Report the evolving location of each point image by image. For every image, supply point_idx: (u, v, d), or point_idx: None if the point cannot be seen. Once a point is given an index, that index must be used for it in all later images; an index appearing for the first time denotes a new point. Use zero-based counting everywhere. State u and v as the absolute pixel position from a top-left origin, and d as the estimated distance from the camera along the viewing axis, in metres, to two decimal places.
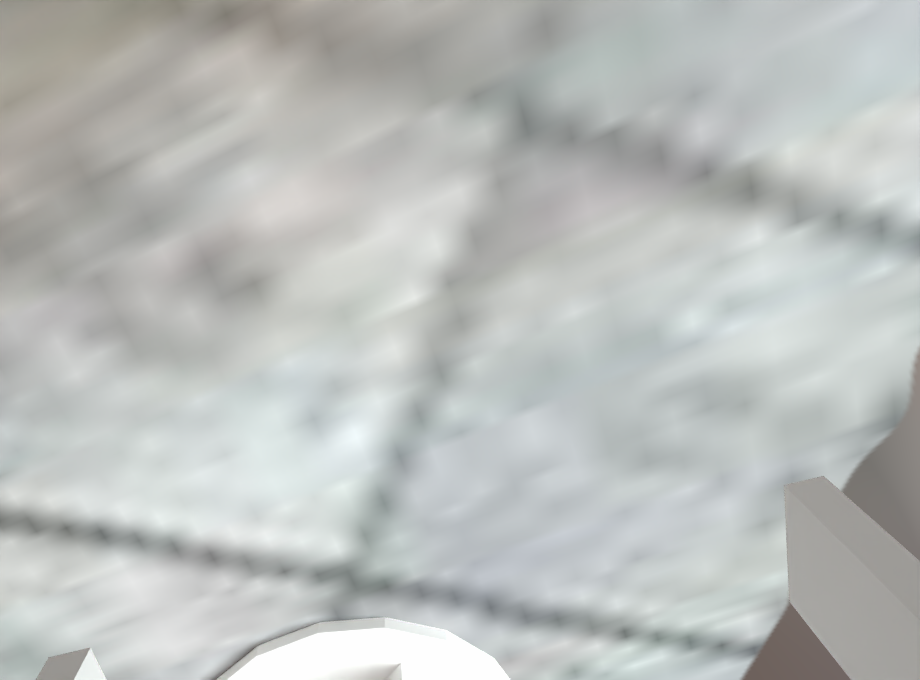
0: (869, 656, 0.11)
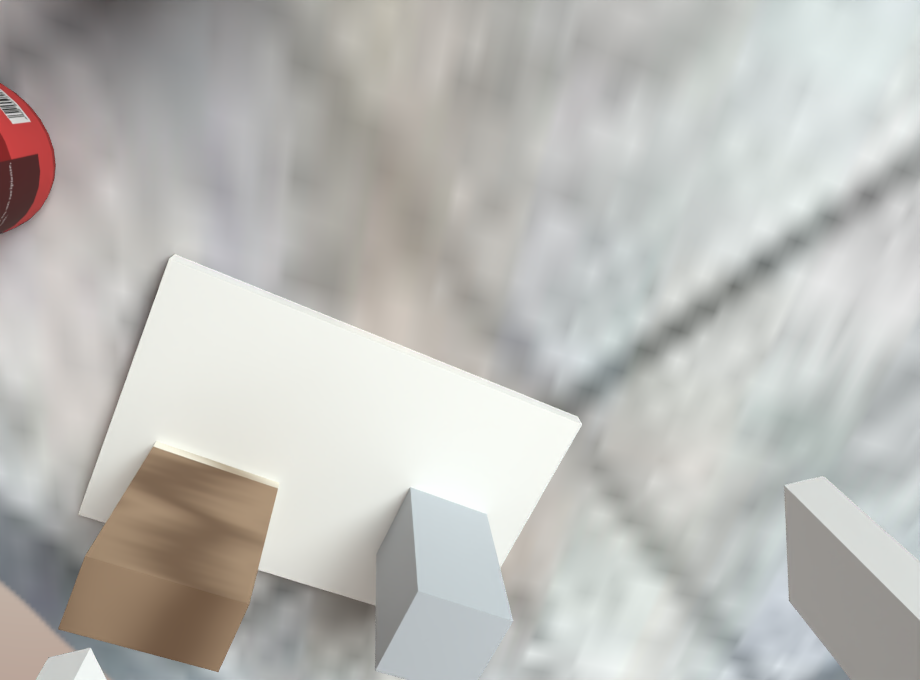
0: (869, 656, 0.11)
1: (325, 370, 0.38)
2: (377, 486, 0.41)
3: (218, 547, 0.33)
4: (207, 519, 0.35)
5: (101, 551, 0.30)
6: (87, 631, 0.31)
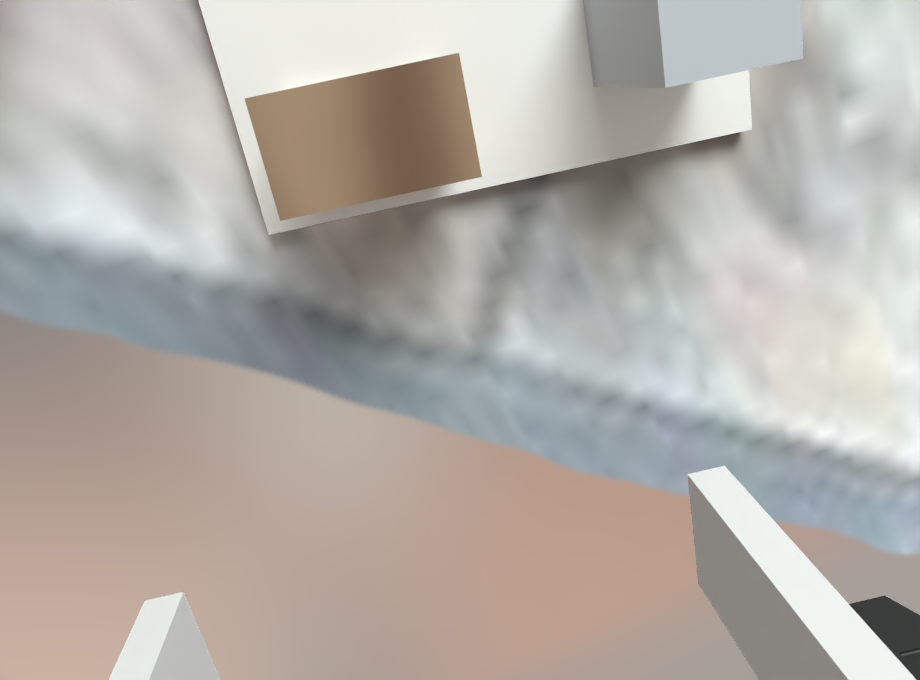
0: (753, 631, 0.12)
1: None
2: None
3: None
4: None
5: None
6: (312, 205, 0.24)
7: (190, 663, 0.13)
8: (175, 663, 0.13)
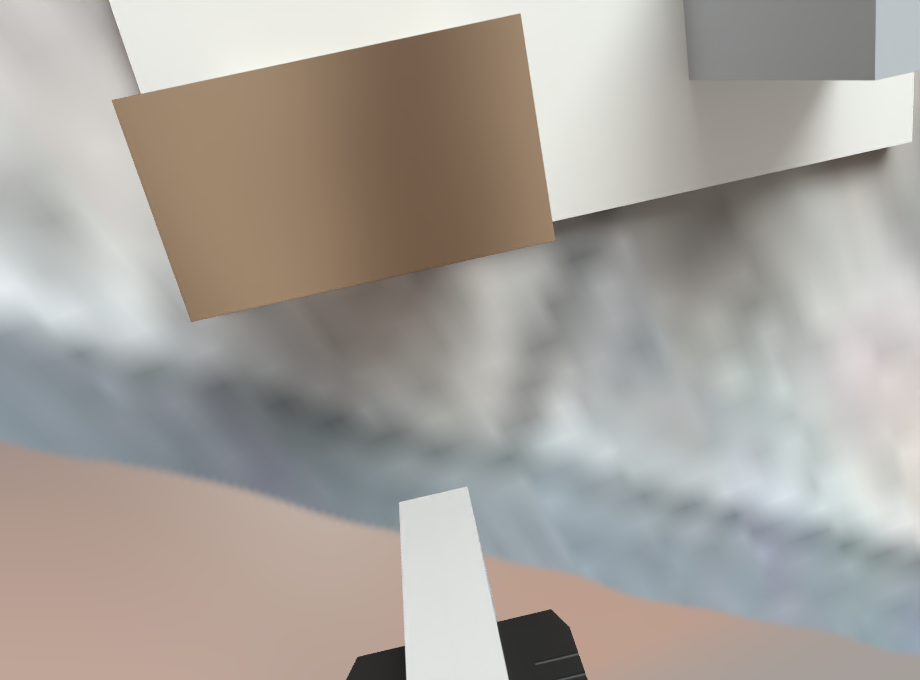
0: None
1: None
2: None
3: None
4: None
5: None
6: (248, 294, 0.13)
7: None
8: None
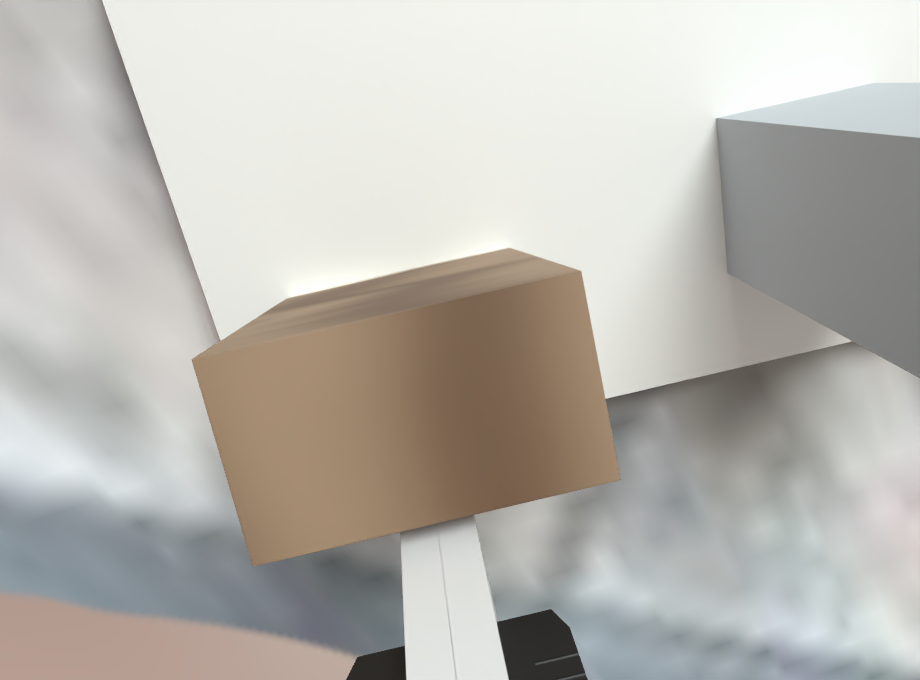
0: None
1: None
2: (661, 152, 0.22)
3: (458, 280, 0.15)
4: (416, 283, 0.17)
5: (226, 348, 0.13)
6: (311, 538, 0.13)
7: None
8: None
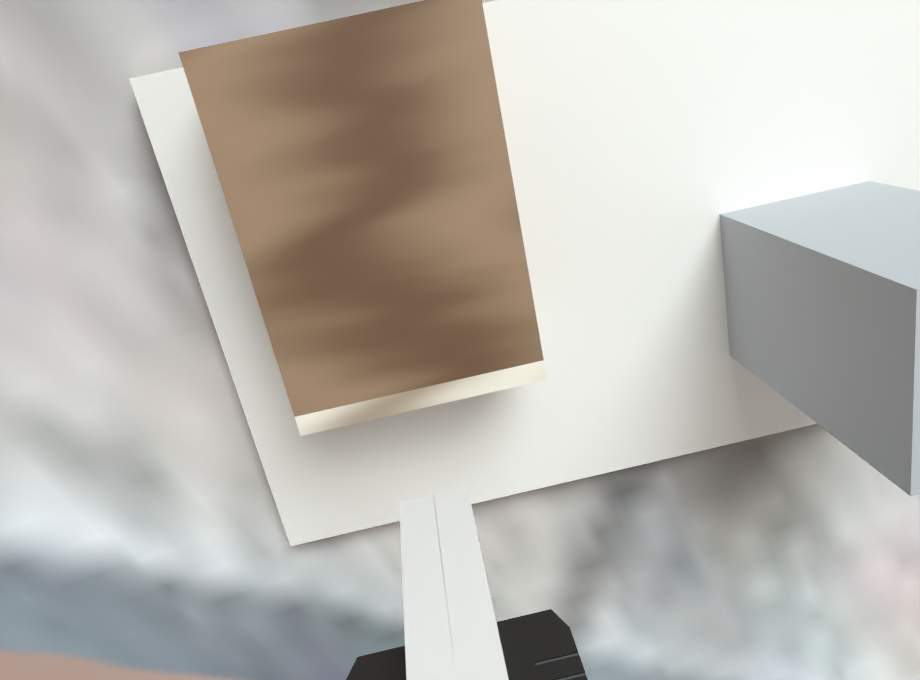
0: None
1: None
2: (668, 246, 0.23)
3: None
4: None
5: None
6: (232, 42, 0.16)
7: None
8: None
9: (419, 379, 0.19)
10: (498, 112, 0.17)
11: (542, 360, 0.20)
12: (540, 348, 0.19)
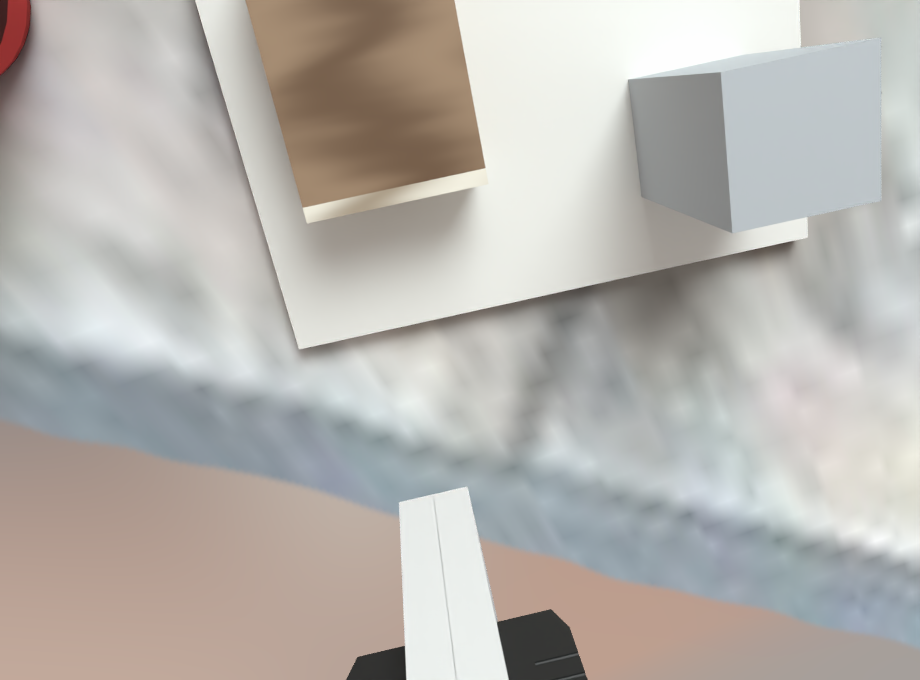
0: None
1: None
2: (589, 104, 0.30)
3: None
4: None
5: None
6: None
7: None
8: None
9: (394, 180, 0.26)
10: None
11: (484, 168, 0.27)
12: (482, 158, 0.27)
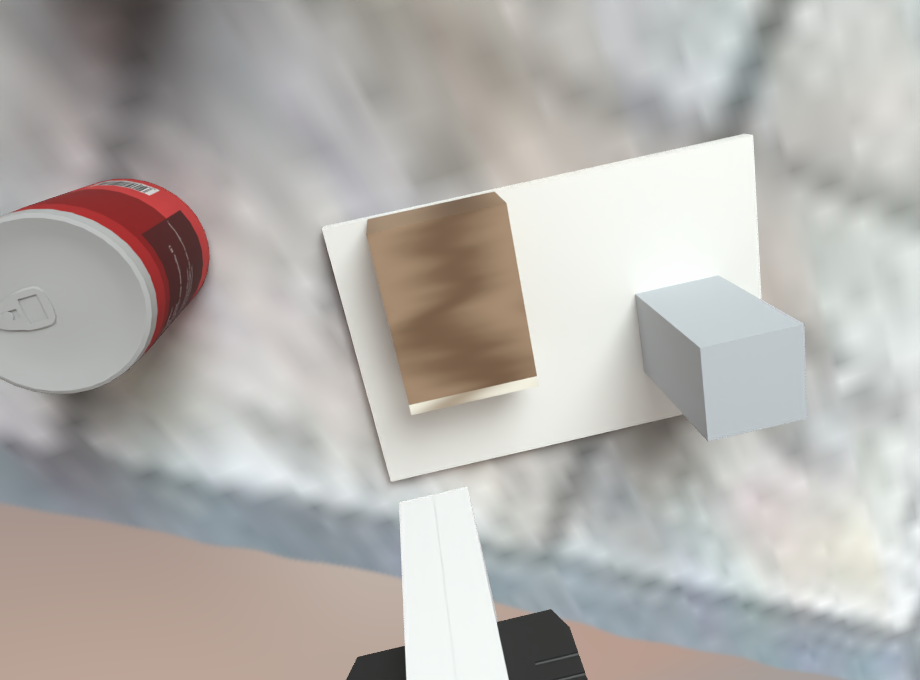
0: None
1: None
2: (606, 311, 0.41)
3: None
4: None
5: None
6: (389, 227, 0.35)
7: None
8: None
9: (473, 386, 0.38)
10: (514, 257, 0.36)
11: (536, 376, 0.38)
12: (535, 370, 0.38)
